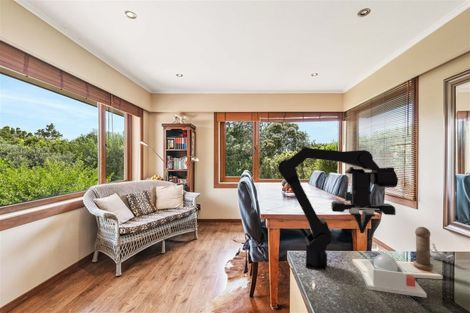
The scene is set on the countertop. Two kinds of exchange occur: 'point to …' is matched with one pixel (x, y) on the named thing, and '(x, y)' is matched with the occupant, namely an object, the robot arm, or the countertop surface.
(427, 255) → the pawn
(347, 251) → the countertop surface
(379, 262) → the dome
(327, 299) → the countertop surface
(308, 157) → the robot arm
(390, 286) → the base
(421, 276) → the game track
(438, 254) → the soldier figure
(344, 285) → the countertop surface
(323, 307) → the countertop surface
